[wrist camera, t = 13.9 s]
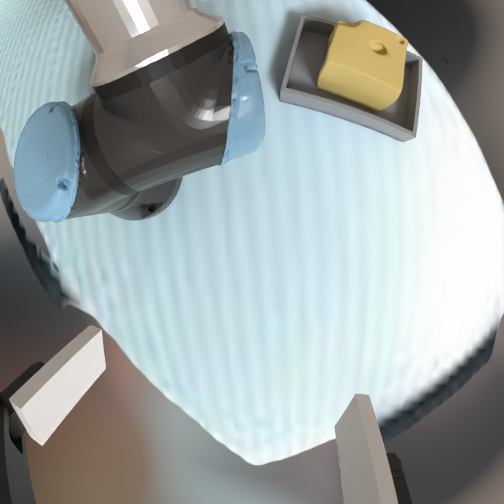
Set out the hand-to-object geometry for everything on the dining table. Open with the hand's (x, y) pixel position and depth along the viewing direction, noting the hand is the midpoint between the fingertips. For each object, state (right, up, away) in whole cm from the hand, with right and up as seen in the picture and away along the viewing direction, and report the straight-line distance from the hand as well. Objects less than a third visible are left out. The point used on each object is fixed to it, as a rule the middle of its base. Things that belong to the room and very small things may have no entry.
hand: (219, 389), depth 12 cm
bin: (+17, +34, +22) cm, 44 cm away
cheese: (+17, +34, +22) cm, 44 cm away
